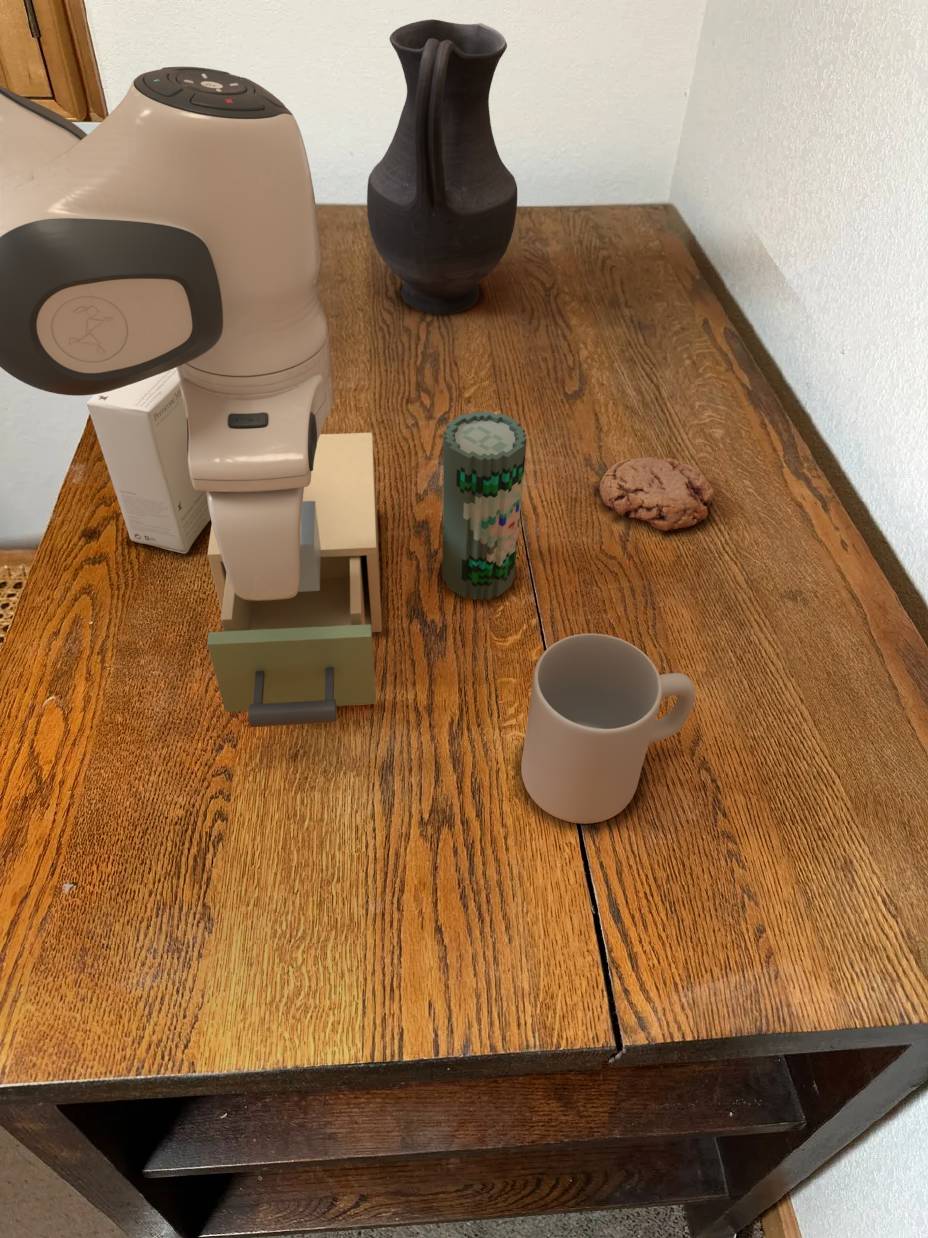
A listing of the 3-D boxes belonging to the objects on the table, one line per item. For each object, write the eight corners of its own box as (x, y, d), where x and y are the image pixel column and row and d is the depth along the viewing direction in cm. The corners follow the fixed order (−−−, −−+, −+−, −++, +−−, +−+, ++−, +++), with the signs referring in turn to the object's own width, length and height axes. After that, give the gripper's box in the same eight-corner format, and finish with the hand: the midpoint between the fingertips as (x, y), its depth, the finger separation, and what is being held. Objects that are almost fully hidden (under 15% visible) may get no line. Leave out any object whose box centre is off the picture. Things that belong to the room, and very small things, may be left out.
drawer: (378, 754, 68) (372, 687, 62) (219, 763, 67) (199, 696, 62) (372, 580, 80) (367, 510, 75) (238, 586, 80) (223, 516, 74)
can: (482, 609, 80) (490, 469, 69) (429, 576, 82) (429, 436, 71) (526, 572, 83) (540, 433, 72) (474, 541, 85) (480, 402, 74)
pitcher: (515, 267, 121) (533, -2, 99) (503, 352, 107) (521, 61, 85) (383, 257, 122) (373, -11, 100) (354, 341, 108) (334, 50, 86)
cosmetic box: (187, 556, 83) (149, 416, 72) (126, 542, 84) (80, 402, 73) (229, 498, 89) (200, 360, 78) (171, 486, 90) (135, 348, 79)
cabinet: (381, 632, 78) (376, 547, 70) (228, 639, 77) (207, 554, 70) (377, 516, 87) (372, 432, 80) (241, 522, 86) (224, 437, 79)
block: (255, 594, 65) (245, 546, 62) (258, 550, 68) (249, 502, 65) (319, 591, 65) (313, 544, 62) (320, 547, 68) (315, 500, 65)
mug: (543, 838, 65) (559, 746, 57) (505, 741, 70) (514, 645, 62) (699, 798, 67) (736, 704, 59) (650, 707, 73) (677, 610, 65)
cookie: (593, 468, 93) (597, 443, 91) (698, 468, 93) (705, 444, 91) (606, 535, 86) (610, 510, 84) (719, 535, 87) (726, 510, 85)
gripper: (218, 292, 62) (248, 460, 72) (183, 488, 48) (226, 662, 58) (314, 290, 62) (330, 457, 73) (307, 484, 49) (328, 656, 59)
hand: (284, 550), depth 65 cm, fingers open, 5 cm apart
